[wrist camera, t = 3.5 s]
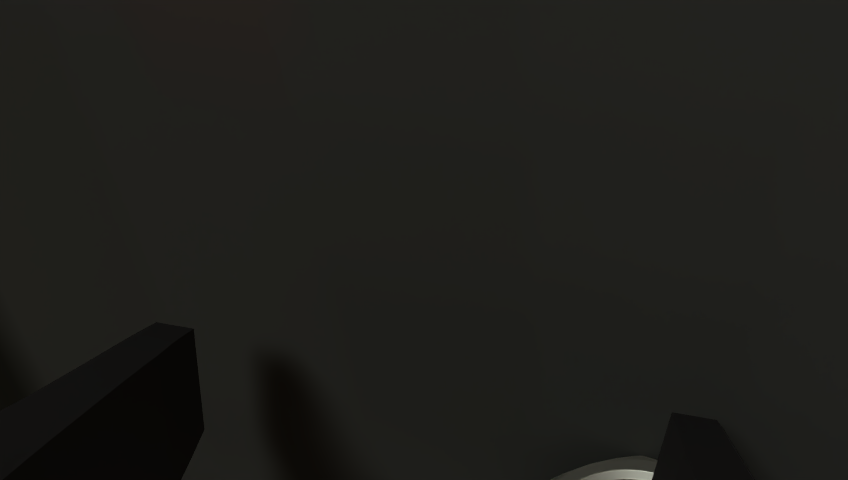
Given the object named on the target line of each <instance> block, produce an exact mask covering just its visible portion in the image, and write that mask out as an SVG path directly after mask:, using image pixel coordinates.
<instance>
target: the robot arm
mask: <svg viewBox="0 0 848 480" xmlns="http://www.w3.org/2000/svg"><path fill="white" fill-rule="evenodd" d="M203 431H204V422H203V413H202V403H201V394H200V385H199V376H198V366H197V357H196V348H195V338H194V329H191V328H185V327H180V326H174V325H168V324H163V323H157V322H156V323H154V324H152V325H151V326H149V327H147V328H145V329H143V330H141V331H139V332H138V333H136V334H134V335H132V336H131V337H129V338H127V339H125V340H124V341H122V342H120V343H118V344H117V345H115V346H113V347H112V348H110V349H108V350H107V351H105V352H103V353H101V354H100V355H98V356H96V357H95V358H93V359H91V360H90V361H88V362H86V363H85V364H83V365H81V366H79V367H78V368H76V369H74V370H73V371H71V372H69V373H67V374H66V375H64V376H62V377H60V378H59V379H57V380H55V381H53V382H52V383H50V384H48V385H47V386H45V387H43V388H41V389H40V390H38V391H36V392H34V393H33V394H31V395H29V396H27V397H26V398H24V399H22V400H20V401H18V402H16V403H14V404H12V405H11V406H9V407H7V408H5V409H3V410H1V411H0V480H181V478H182V476H183V474H184V472H185V470H186V468H187V466H188V464H189V462H190V460H191V458H192V455H193V453H194V451H195V449H196V447H197V444H198V442H199V440H200V438H201V436H202V433H203ZM652 480H755V479H754V478H753V476H752V474H751V473H750V471H749V470H748V468H747V466H746V465H745V463H744V462H743V460H742V458H741V457H740V455H739V454H738V452H737V450H736V449H735V447H734V445H733V444H732V442H731V440H730V439H729V437H728V436H727V434H726V432H725V431H724V429H723V428H722V426H721V425H720V424H719V422H718V421H717V420H712V419H706V418H701V417H695V416H689V415H683V414H678V413H672V414H671V417H670V421H669V424H668V427H667V431H666V434H665V437H664V441H663V444H662V447H661V451H660V454H659V457H658V461H657V464H656V467H655V470H654V474H653V477H652Z"/></svg>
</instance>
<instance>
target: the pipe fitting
mask: <svg viewBox="0 0 848 480" xmlns="http://www.w3.org/2000/svg"><path fill="white" fill-rule="evenodd" d="M657 461H658V460H656V459H653V458H649V457H646V456H642V455H640V456H629V457H621V458H614V459H610V460H605V461H601V462H596V463H592V464H589V465H586V466H583V467H580V468H577V469H575V470H572V471H569V472H566V473H564V474H561V475H559V476H557V477H555V478H553V479H551V480H652V477H653V474H654V470H655V467H656V464H657Z"/></svg>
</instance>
